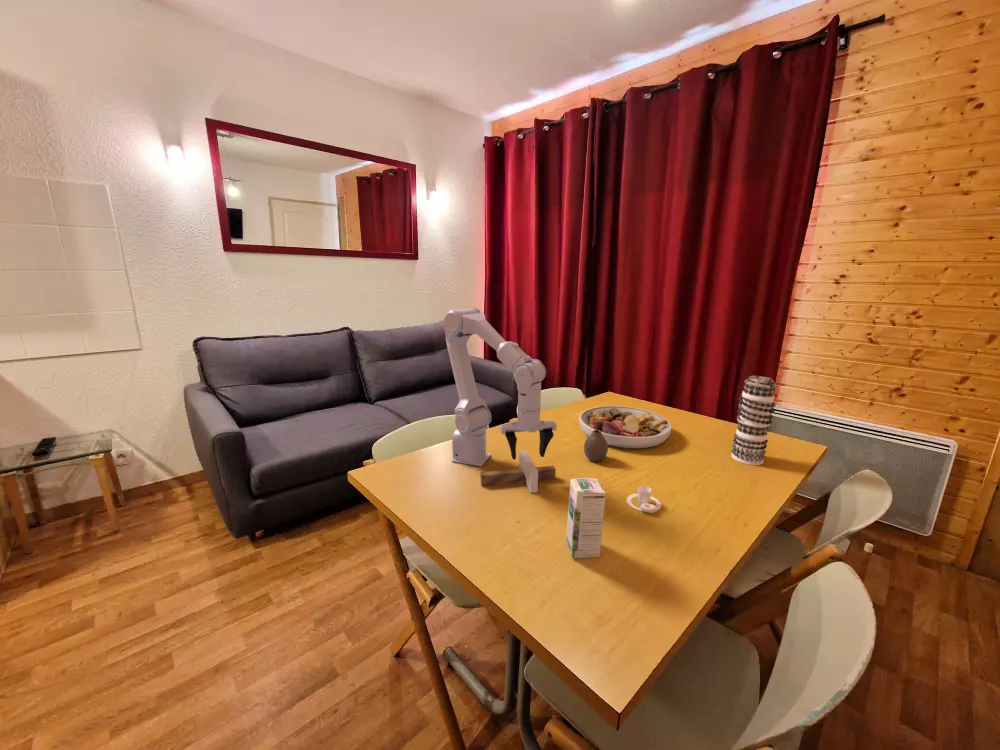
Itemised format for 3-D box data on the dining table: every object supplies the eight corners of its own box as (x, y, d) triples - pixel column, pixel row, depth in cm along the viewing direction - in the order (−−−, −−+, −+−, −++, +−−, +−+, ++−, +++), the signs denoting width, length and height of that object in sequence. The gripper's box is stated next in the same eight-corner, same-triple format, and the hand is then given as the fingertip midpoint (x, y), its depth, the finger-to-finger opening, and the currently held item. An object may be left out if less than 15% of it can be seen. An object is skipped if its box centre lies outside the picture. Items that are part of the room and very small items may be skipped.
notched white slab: (519, 470, 115) (519, 450, 114) (525, 469, 116) (525, 450, 114) (530, 492, 104) (531, 471, 102) (537, 492, 104) (538, 470, 103)
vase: (607, 465, 119) (609, 437, 116) (583, 462, 120) (584, 435, 118) (606, 454, 125) (608, 427, 123) (583, 452, 127) (584, 426, 124)
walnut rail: (481, 486, 107) (481, 475, 106) (480, 482, 109) (480, 472, 108) (555, 478, 111) (555, 468, 110) (553, 475, 113) (553, 465, 112)
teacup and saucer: (657, 519, 94) (659, 503, 93) (622, 509, 98) (623, 494, 97) (663, 500, 101) (665, 486, 100) (630, 492, 105) (631, 477, 104)
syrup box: (565, 540, 86) (568, 478, 82) (592, 539, 86) (597, 476, 83) (572, 559, 80) (575, 493, 77) (601, 557, 81) (606, 492, 77)
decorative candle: (722, 454, 126) (734, 375, 119) (745, 450, 129) (759, 372, 122) (748, 467, 118) (762, 383, 111) (772, 463, 120) (788, 380, 114)
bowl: (598, 412, 162) (599, 393, 160) (679, 429, 145) (681, 408, 143) (563, 437, 138) (564, 415, 136) (655, 461, 121) (658, 436, 119)
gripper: (504, 415, 100) (503, 465, 103) (561, 411, 103) (559, 461, 106) (498, 405, 106) (498, 453, 110) (552, 402, 109) (550, 449, 113)
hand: (527, 456), depth 109 cm, fingers open, 7 cm apart
